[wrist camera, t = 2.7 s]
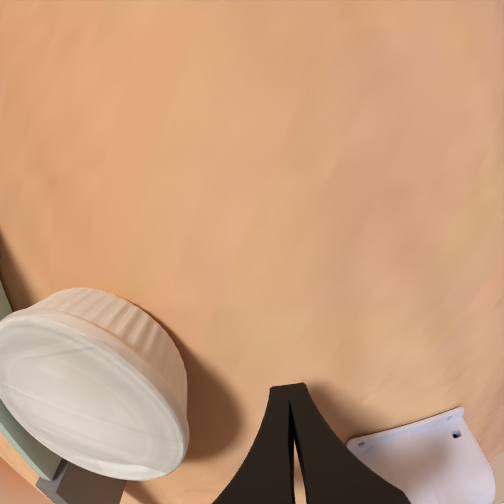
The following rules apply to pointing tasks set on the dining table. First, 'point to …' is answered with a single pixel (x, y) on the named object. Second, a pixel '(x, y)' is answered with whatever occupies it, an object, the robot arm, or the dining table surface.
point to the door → (17, 435)
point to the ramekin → (96, 383)
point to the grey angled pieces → (81, 486)
